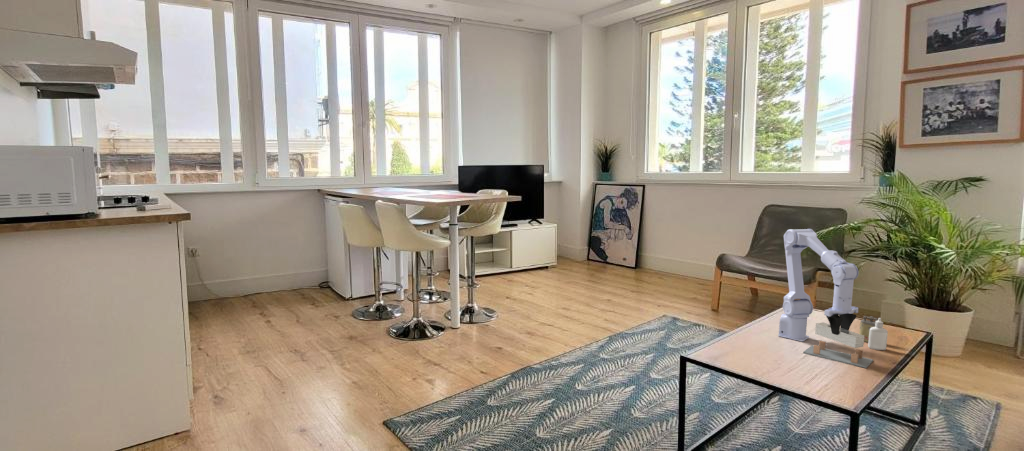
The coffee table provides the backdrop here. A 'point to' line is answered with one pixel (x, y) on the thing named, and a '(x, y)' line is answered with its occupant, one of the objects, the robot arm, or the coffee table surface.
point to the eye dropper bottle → (878, 336)
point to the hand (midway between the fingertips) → (839, 333)
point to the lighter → (866, 327)
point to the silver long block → (840, 335)
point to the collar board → (839, 355)
